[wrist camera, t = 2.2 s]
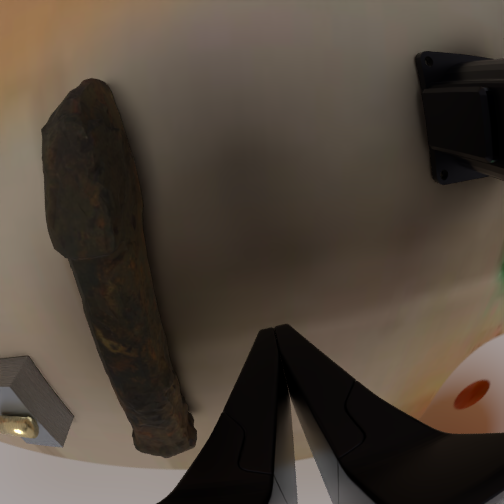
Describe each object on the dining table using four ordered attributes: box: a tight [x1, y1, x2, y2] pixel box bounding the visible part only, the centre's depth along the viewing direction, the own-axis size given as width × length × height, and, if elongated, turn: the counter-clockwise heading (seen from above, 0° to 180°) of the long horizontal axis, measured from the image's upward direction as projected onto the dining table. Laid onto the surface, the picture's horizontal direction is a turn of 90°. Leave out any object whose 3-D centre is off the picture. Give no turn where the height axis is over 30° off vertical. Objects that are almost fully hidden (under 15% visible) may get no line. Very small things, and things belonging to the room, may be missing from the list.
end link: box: [0, 356, 74, 447], centre depth 15 cm, size 4×6×4 cm, turn 13°
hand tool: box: [41, 78, 197, 458], centre depth 13 cm, size 19×4×5 cm, turn 179°
